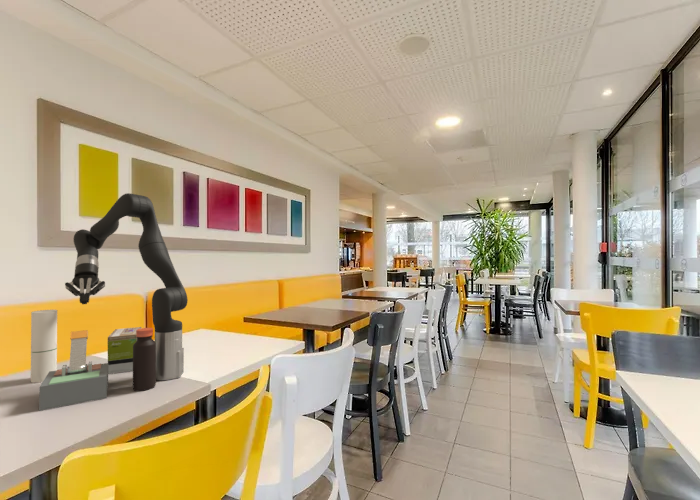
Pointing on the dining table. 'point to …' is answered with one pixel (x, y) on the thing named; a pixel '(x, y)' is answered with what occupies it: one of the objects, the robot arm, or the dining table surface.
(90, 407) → the dining table surface
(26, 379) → the dining table surface
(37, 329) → the cylindrical container
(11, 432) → the dining table surface
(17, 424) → the dining table surface
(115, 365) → the tea box
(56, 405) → the switch box
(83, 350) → the lever
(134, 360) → the bottle
